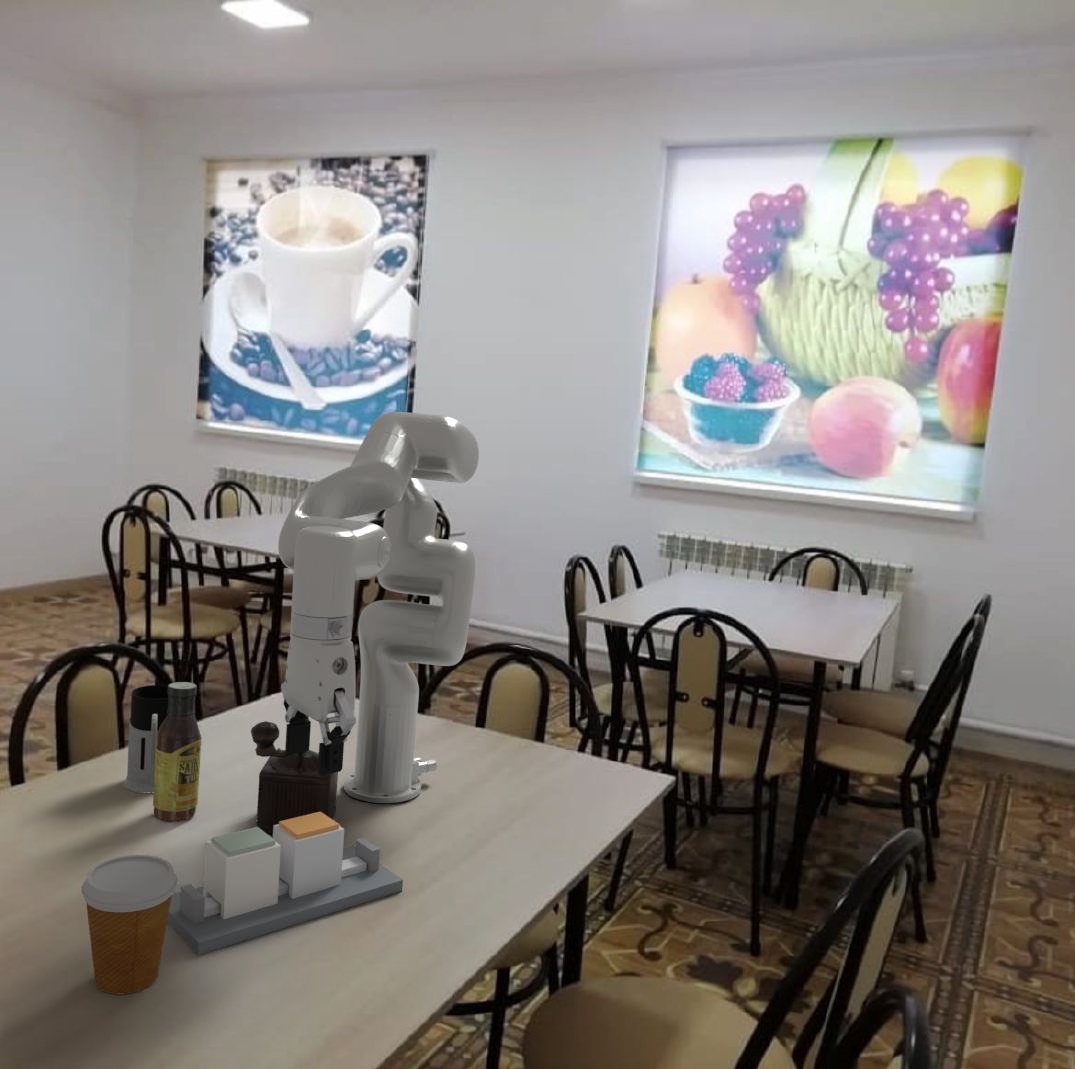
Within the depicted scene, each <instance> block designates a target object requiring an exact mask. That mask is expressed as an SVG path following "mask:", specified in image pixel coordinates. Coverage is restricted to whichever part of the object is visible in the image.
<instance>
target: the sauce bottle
mask: <svg viewBox="0 0 1075 1069" xmlns="http://www.w3.org/2000/svg"><path fill="white" fill-rule="evenodd" d="M167 686H168V696H169V698H168V710H167V713H168V715H167V717H166V719H165V720H164V721H163V722H162V724H161V726H160V728H159V731H158V742H157V747H156V762H155V778H154V793H152V795H153V799H152V806H153V815H154V818H155V819H156V820H158V821H162V822H165V823H177V822H183V821H186V820H189V819H192V818H193V817H194V815H195V814H196V811H197V805H198V801H199V785H200V784H199V782H200V771H201V770H200V767H201V752H202V734H201V731H200V728H199V725H198V721H197V718H196V716H195V715H196V714H195V713H196V710H195V704H196V696H197V691H198V686H197V684H195V683H194V682H187V681H183V682H182V681H177V682H176V681H175V682H171V683H169V684H168V685H167Z"/></svg>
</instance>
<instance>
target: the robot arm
mask: <svg viewBox="0 0 1075 1069" xmlns="http://www.w3.org/2000/svg"><path fill="white" fill-rule="evenodd" d="M479 453H480V452H479V445H478V441H477V439H476V437H475V435H474V433H473V432H472V431H471V430H470V429H469V428H468V427H467V426H465V425H464V424H463V423H462V422H460V420H457V419H455V418H453V417H450V416H445V415H437V414H426V413H418V412H417V413H415V412H405V411H390V412H387V413H383V414H381V415H380V416H378V417H377V418H375V419H374V421H373V422H372V423H371V425H370V427H369V429H368V430H367V433H366V435H365V437H364V439H363V441H362V443H361V445H360V447H359V448H358V450H357V453H356V454H355V457H354V458H353V460H352V463H351V464H350V466H348V467H345V468H342V469H340V470H338V471H336V472H334V473H332V474H330V475H328V476H325V477H324V478H322V479H319V480H318V481H316V482H315V483H312V484H311V485H310V486H308V487H307V488H306V489H304V490H303V491H302V492H301V494H299V496H298V497H297V499H296V500H295V502H294V503H293V505H292V507H291V509H290V511H289V513H288V515H287V516H286V518H285V520H284V522H283V524H282V527H281V530H280V533H279V537H278V544H277V547H278V550H277V552H278V555H279V558H280V560H281V562H282V564H283V565H284V566H285V567H286V568H288V569H289V570H292V571H293V574H292V576H293V578H292V596H291V612H290V613H291V614H290V617H291V618H290V631H289V637H290V638H289V639H290V640H289V646H288V652H287V659H286V667H285V668H286V669H285V679H284V682H282V684H281V685H280V689H281V694H282V698H283V706H284V708H285V711H286V712H285V716H284V720H285V723H286V731H285V732H286V733H285V734H286V735H285V749H284V750H285V752H286V753H287V754H288V755H291V754H296V753H301V752H306V751H308V750H310V742H311V741H310V740H311V728H312V727H311V724H312V721H311V720H310V719H313V720H314V721H316V722H318V724H319V729H320V733H321V737H322V738H321V740H322V742H319V746H318V753H319V758H318V773H319V774H320V775H326V774H331V773H335V772H338V773H339V772H341V771H342V770H343V765H344V763H343V762H344V751H345V750H344V748H345V742H347V741H348V736H349V735H350V734H351V730H352V729H353V727H354V726H355V724H356V723H357V734H356V743H355V744H356V747H355V760H354V772H353V773H351V774H349V775H347V777H346V778H345V779H344V782H343V789H344V791H345V792H346V794H347V795H349V797H352V798H354V799H357V800H360V801H363V802H367V803H374V804H395V803H396V804H397V803H402V802H406V801H410V800H413V799H415V798H416V797H418V795H420V793H421V792H422V791H421V790H422V782H421V780H420V778H419V776H422V775H423V774H424V773H431V772H435V771H436V770H437V767H438V765H437V761H436V760H435V759H428V760H424V761H422V759H421V758H420V757H415V750H416V737H417V736H416V735H417V726H418V725H417V722H418V709H419V699H420V698H419V695H420V688H419V687H420V686H419V683H418V679H417V676H416V675H415V673H414V671H413V670H412V668H411V666H410V665H409V663H416V664H422V665H432V666H433V665H434V666H442V667H443V666H444V667H451V666H455V665H457V664H458V663H459V662H460V661H461V660H462V659H463V657H464V654H465V652H466V651H465V650H466V648H467V647H466V646H467V641H468V634H469V626H470V619H471V618H470V616H471V613H472V612H471V611H472V610H471V609H472V603H473V596H474V588H475V580H476V578H475V577H476V560H475V559H476V558H475V554H474V551H473V549H472V547H470V546H469V545H468V544H467V543H465V542H463V541H460V540H459V541H458V540H454V539H443V538H436V537H435V536H436V535H435V534H436V533H435V532H436V527H437V526H436V524H437V517H438V507H437V503H436V502H435V500H434V498H433V496H432V495H431V493H430V492H429V490H428V489H427V487H426V486H425V484H424V483H423V482H422V480H425V481H427V480H428V481H437V482H446V483H454V484H455V483H458V484H462V483H466V482H468V481H470V480H471V478H472V477H473V476H474V475H475V473H476V471H477V468H478V464H479V457H480V456H479ZM381 511H385V513H384V518H383V526H380V525H378V524H377V523H376V524H375V523H373V522H370V521H369V522H368V521H362V520H353V519H350V518H354V517H359V516H365V515H371V514H373V513H379V512H381ZM348 518H349V519H348ZM374 577H377V581H378V583H379V585H380V586H381V587H382V588H383V589H385V590H388V591H390V592H395V593H400V594H407V595H414V596H415V595H416V596H425V597H434V598H438V599H440V600H441V601H442V605H437V604H428V603H426V604H425V603H419V602H414V601H413V602H412V601H403V600H395V599H393V600H392V599H384V600H383V599H382V600H381V599H380V600H376V601H373V602H371V603H369V604H367V605H366V606H365V607H364V608H363V610H362V611H361V613H360V616H359V619H358V628H357V629H358V641H359V653H360V686H359V703H358V717H357V718H356V716H355V709H356V708H355V707H356V660H355V659H356V658H355V649H354V648H355V647H354V643H353V641H352V636H353V635H352V633H353V620H354V607H355V606H354V605H355V604H354V602H355V601H354V600H355V588H356V581H358V580H361V581H362V580H370V579H373V578H374ZM329 714H334V716H331V717H328V715H329ZM308 718H309V720H308V721H306V720H307V719H308ZM329 724H335V726H334V727H333V729H332V730H331V731H330V727H329Z"/></svg>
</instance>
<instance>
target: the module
mask: <svg viewBox="0 0 1075 1069" xmlns="http://www.w3.org/2000/svg"><path fill="white" fill-rule="evenodd" d="M272 838H273V839H274V840H275V842H277V843H278V844H279V845H281V851H280V868H279V878H282V879H283V880H284V881H285V882H287V883H288V884H289V885H290V887H289V897H290V898H292V899H293V898H297V897H300V896H303V895H307V894H310V893H313V892H317V891H320V890H323V889H327V888H330V887H333V886H337V885H340V884H341V873H342V858H343V848H344V839H345V828H343V827H342V826H341V825H340V823H338V822H336V821H335V820H334V819H333V820H332V819H331V818H329V817H328V816H326V815H325V814H323V813H322V812H317V813H312V814H308V815H304V816H300V817H296V818H291V819H287V820H283V821H279V824H277V825H273V836H272Z"/></svg>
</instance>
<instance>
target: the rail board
mask: <svg viewBox="0 0 1075 1069" xmlns="http://www.w3.org/2000/svg"><path fill="white" fill-rule="evenodd" d="M380 850H381V849H380V848H379V847H378V846H377V845H375V844H373V843H372V842H370V841H369V840H367V839H366V838H364V837H362V838H357V839H356V840H355V845H351V846H347V847H343V858H342V873H341V884H340V885H337V886H333V887H330V888H327V889H323V890H320V891H317V892H313V893H310V894H307V895H303V896H300V897H297V898H293V899H292V898H290V897H289V887H290V885H289V884H288V883H287V882H285V881H284V880H283V879H282V878H279V868H280V851H281V845H279V844H278V843H277V842H275V840H274V839H273V836H269V835H268V834H266V833H265V832H264V831H262V830H261V829H260V828H259V827H257V826H255V827H250V828H246V829H243V830H238V831H233V832H229V833H225V834H221V835H218V836H212V837H211V840H207V841H205V854H204V856H205V857H204V875H203V876H204V877H203V886H199V887H194V885H192V884H191V883H188V884H185V885H181V886H180V891H179V892H176V893H173V894H172V897H171V903H170V909H169V914H168V920H167V925H169V926H170V927H171V929H173V930H174V931H175V933H176V934H178V936H179V937H180V938H181V939H182V940H183V941H184V942H185V943H186V944H187V945H188V946H189V947H190V948H191V950H192V951H193V952H195V954H196V955H197V956H200V955H202V954H206V953H208V952H213V951H216V950H219V949H221V948H222V949H223V948H225V947H229V946H232V945H234V944H238V943H240V942H245V941H247V940H251V939H253V938H257V937H260V936H263V935H266V934H270V933H273V932H275V931H279V930H282V929H285V928H288V927H291V926H295V925H298V924H301V923H304V922H307V921H311V920H314V919H317V918H320V917H323V916H325V915H330V914H332V913H336V912H339V911H343V910H345V909H348V908H352V907H354V906H355V907H356V906H358V905H361V904H365V903H367V902H371V901H373V900H377V899H380V898H383V897H387V896H389V894H390V895H393V894H396V893H399V892H402V891H403V883H404V879H403V878H401V877H400V876H398V875H397V874H396V873H394V872H392V871H391V870H390V869H388V868H386V867H385V866H383V865H382V864H381V863H380V856H381V855H380ZM401 890H402V891H401ZM398 891H399V892H398Z"/></svg>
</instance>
